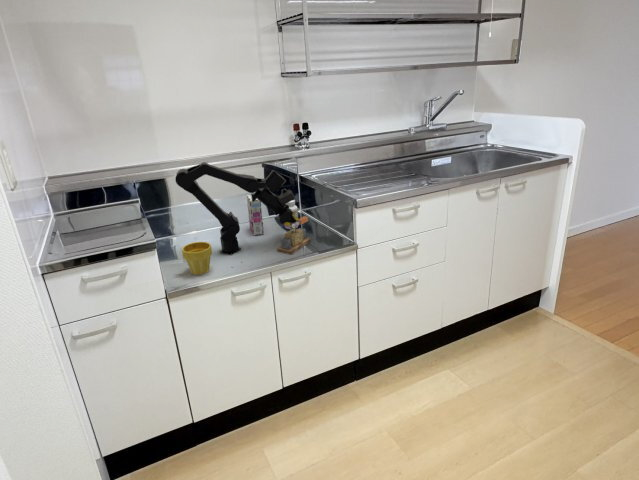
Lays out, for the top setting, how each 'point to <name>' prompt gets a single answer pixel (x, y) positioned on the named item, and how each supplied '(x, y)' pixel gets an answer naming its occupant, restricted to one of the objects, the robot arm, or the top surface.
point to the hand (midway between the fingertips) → (296, 222)
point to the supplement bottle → (295, 213)
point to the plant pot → (198, 256)
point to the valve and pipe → (293, 238)
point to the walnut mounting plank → (294, 247)
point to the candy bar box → (255, 216)
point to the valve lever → (299, 222)
